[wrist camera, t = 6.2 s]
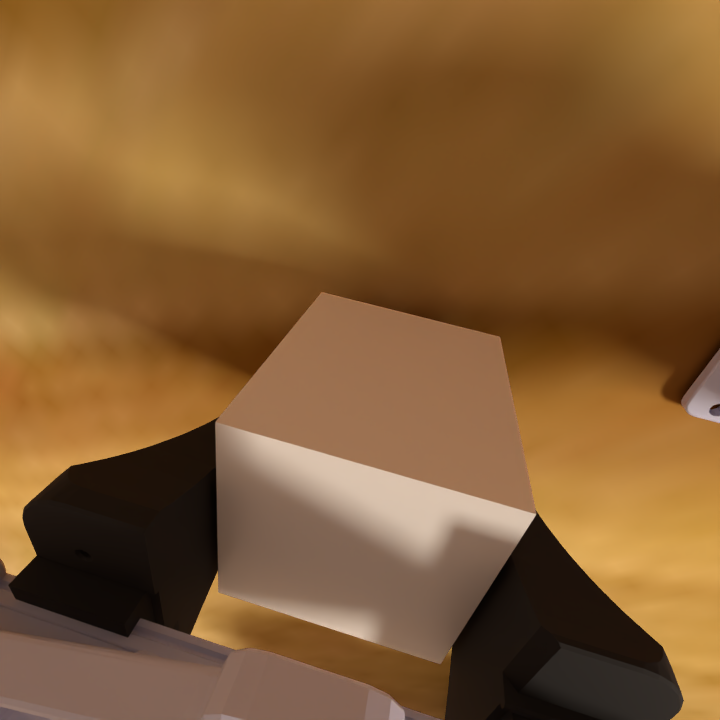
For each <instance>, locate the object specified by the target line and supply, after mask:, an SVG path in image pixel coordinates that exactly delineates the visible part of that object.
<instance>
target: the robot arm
mask: <svg viewBox="0 0 720 720" xmlns="http://www.w3.org/2000/svg"><path fill="white" fill-rule="evenodd" d="M681 404H682V406H683V408H684V409H685V410H686V411H687V413H688V414H690V415H692V416H694V417H698V418H702V419H706V420H710V421H713V422H717V423H720V406H719V407H717V408H715V409H710V408H711V407H712V406H713V405H716V404H720V349H719V350H718V352H717V353H716V354H715V356H714V357H713V358H712V359H711V361H710V362H709V363H708V365H707V366H706V367H705V369H704V370H703V371H702V373H701V374H700V375H699V377H698V378H697V379H696V381H695V382H694V383H693V384H692V386H691V387H690V388H689V390H688V391H687V392H686V394H685V395H684V396H683V398H682V400H681ZM218 418H219V417H218ZM218 418H216V419H214V420H213V421H211V422H209V423H207V424H205V425H203V426H201V427H199V428H196V429H194V430H192V431H190V432H187V433H185V434H183V435H180V436H177V437H175V438H172V439H169V440H167V441H164V442H161V443H158V444H156V445H153V446H150V447H147V448H143V449H140V450H137V451H134V452H130V453H126V454H123V455H119V456H115V457H111V458H107V459H102V460H98V461H93V462H88V463H84V464H79V465H74V466H71V467H69V468H68V469H67V470H66V471H64V472H63V473H62V474H61V475H60V476H58V477H57V478H56V479H55V480H54V481H53V482H52V483H50V484H49V485H48V486H47V487H46V488H45V489H44V490H43V491H41V492H40V493H39V494H38V495H37V496H36V497H35V498H34V499H32V500H31V501H30V502H29V503H28V504H27V505H26V506H25V507H24V510H23V522H24V526H25V528H26V531H27V533H28V535H29V538H30V540H31V542H32V545H33V547H34V549H35V552H36V554H37V556H36V557H35V558H34V559H33V560H32V561H31V562H30V563H29V564H28V565H27V566H26V567H25V568H24V569H23V570H22V571H21V572H20V573H19V574H18V575H17V576H14V575H11V574H8V573H6V569H5V566H4V563H3V561H2V560H1V559H0V720H441V719H438V718H435V717H432V716H429V715H427V714H424V713H421V712H418V711H415V710H412V709H409V708H406V707H403V706H401V705H400V704H399V703H398V702H397V701H396V700H395V699H393V698H392V697H391V696H390V695H389V694H388V693H386V692H383V691H381V690H379V689H377V688H375V687H373V686H371V685H368V684H365V683H362V682H359V681H356V680H353V679H350V678H347V677H344V676H341V675H338V674H335V673H332V672H329V671H326V670H323V669H320V668H317V667H314V666H311V665H308V664H305V663H303V662H300V661H297V660H294V659H291V658H288V657H285V656H282V655H279V654H276V653H273V652H269V651H264V650H259V649H254V648H246V649H240V650H233V649H230V648H227V647H225V646H222V645H219V644H216V643H213V642H210V641H207V640H204V639H201V638H198V637H195V636H192V635H190V634H191V632H192V629H193V627H194V625H195V622H196V620H197V617H198V615H199V613H200V610H201V608H202V605H203V603H204V601H205V599H206V596H207V594H208V592H209V589H210V587H211V585H212V583H213V580H214V578H215V576H216V573H217V571H218V540H217V487H216V435H215V422H216V421H217V419H218ZM683 701H684V700H683V697H682V694H681V691H680V688H679V685H678V683H677V680H676V678H675V675H674V672H673V670H672V667H671V665H670V663H669V660H668V658H667V656H666V653H665V651H664V649H663V647H662V646H661V645H660V644H659V643H658V642H656V641H655V640H654V639H653V638H652V637H651V636H650V635H649V634H648V633H646V632H645V631H644V630H643V629H642V628H641V627H640V626H639V625H637V624H636V623H635V622H634V621H633V620H632V619H631V618H630V617H629V616H627V615H626V614H625V613H624V612H623V611H622V610H621V609H620V608H619V607H618V606H617V605H616V604H615V603H614V602H613V601H612V600H611V599H610V598H609V597H608V596H607V595H606V594H605V593H604V592H603V591H602V590H601V589H600V588H599V587H598V586H597V585H596V584H595V583H594V582H593V581H592V580H591V579H590V578H589V577H588V575H587V574H586V573H585V572H584V571H583V570H582V569H581V568H580V566H579V565H578V564H577V563H576V562H575V561H574V560H573V558H572V557H571V556H570V555H569V554H568V553H567V551H566V550H565V549H564V548H563V547H562V545H561V544H560V543H559V541H558V540H557V539H556V538H555V536H554V535H553V534H552V532H551V531H550V530H549V528H548V527H547V526H546V524H545V523H544V522H543V520H542V519H541V517H540V516H539V514H538V513H537V511H536V516H535V517H534V519H533V521H532V522H531V524H530V525H529V527H528V528H527V530H526V531H525V533H524V535H523V536H522V538H521V539H520V541H519V542H518V544H517V545H516V547H515V549H514V550H513V552H512V553H511V555H510V556H509V558H508V560H507V561H506V563H505V564H504V566H503V567H502V569H501V570H500V572H499V574H498V575H497V577H496V578H495V580H494V581H493V583H492V584H491V586H490V588H489V589H488V591H487V592H486V594H485V595H484V597H483V599H482V600H481V602H480V603H479V605H478V606H477V608H476V609H475V611H474V613H473V614H472V616H471V617H470V619H469V620H468V622H467V624H466V625H465V627H464V628H463V630H462V631H461V633H460V634H459V636H458V638H457V639H456V641H455V642H454V644H453V645H452V655H451V666H450V676H449V687H448V696H447V705H446V714H445V720H670V719H672V718H673V717H674V716H675V715H676V714H677V713H678V712H679V711H680V709H681V707H682V704H683Z"/></svg>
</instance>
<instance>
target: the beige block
mask: <svg viewBox="0 0 720 720" xmlns="http://www.w3.org/2000/svg"><path fill="white" fill-rule="evenodd" d="M215 435H216V487H217V540H218V592H219V593H222V594H225V595H228V596H231V597H234V598H238V599H241V600H244V601H247V602H250V603H253V604H256V605H259V606H262V607H265V608H268V609H271V610H274V611H278V612H281V613H284V614H287V615H290V616H293V617H296V618H299V619H302V620H305V621H308V622H311V623H314V624H318V625H321V626H324V627H327V628H330V629H333V630H336V631H339V632H342V633H345V634H348V635H351V636H354V637H358V638H361V639H364V640H367V641H370V642H373V643H376V644H379V645H382V646H385V647H388V648H391V649H394V650H398V651H401V652H404V653H407V654H410V655H413V656H416V657H419V658H422V659H425V660H428V661H431V662H434V663H438V664H441V663H442V661H443V659H444V658H445V656H446V655H447V653H448V652H449V650H450V648H451V647H452V645H453V644H454V642H455V641H456V639H457V638H458V636H459V634H460V633H461V631H462V630H463V628H464V627H465V625H466V624H467V622H468V620H469V619H470V617H471V616H472V614H473V613H474V611H475V609H476V608H477V606H478V605H479V603H480V602H481V600H482V599H483V597H484V595H485V594H486V592H487V591H488V589H489V588H490V586H491V584H492V583H493V581H494V580H495V578H496V577H497V575H498V574H499V572H500V570H501V569H502V567H503V566H504V564H505V563H506V561H507V560H508V558H509V556H510V555H511V553H512V552H513V550H514V549H515V547H516V545H517V544H518V542H519V541H520V539H521V538H522V536H523V535H524V533H525V531H526V530H527V528H528V527H529V525H530V524H531V522H532V521H533V519H534V517H535V516H536V510H535V505H534V500H533V495H532V490H531V485H530V480H529V476H528V471H527V466H526V461H525V456H524V451H523V446H522V441H521V437H520V432H519V427H518V422H517V417H516V412H515V407H514V403H513V398H512V393H511V388H510V383H509V378H508V373H507V368H506V364H505V359H504V354H503V349H502V344H501V339H500V337H499V336H495V335H491V334H487V333H483V332H479V331H475V330H471V329H467V328H463V327H459V326H455V325H451V324H447V323H443V322H439V321H435V320H431V319H427V318H423V317H420V316H416V315H412V314H408V313H404V312H400V311H396V310H392V309H388V308H384V307H380V306H376V305H372V304H368V303H364V302H360V301H356V300H352V299H348V298H344V297H340V296H336V295H332V294H328V293H324V292H321V293H320V295H319V296H318V297H317V298H316V300H315V301H314V302H313V303H312V304H311V306H310V307H309V308H308V309H307V311H306V312H305V313H304V314H303V315H302V317H301V318H300V319H299V320H298V322H297V323H296V324H295V325H294V326H293V328H292V329H291V330H290V331H289V333H288V334H287V335H286V336H285V337H284V339H283V340H282V341H281V342H280V344H279V345H278V346H277V347H276V348H275V350H274V351H273V352H272V353H271V355H270V356H269V357H268V358H267V359H266V361H265V362H264V363H263V364H262V366H261V367H260V368H259V369H258V370H257V372H256V373H255V374H254V375H253V377H252V378H251V379H250V380H249V381H248V383H247V384H246V385H245V386H244V388H243V389H242V390H241V391H240V392H239V394H238V395H237V396H236V397H235V399H234V400H233V401H232V402H231V403H230V405H229V406H228V407H227V408H226V410H225V411H224V412H223V413H222V414H221V416H220V417H219V418H218V419H217V421H216V422H215Z"/></svg>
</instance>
